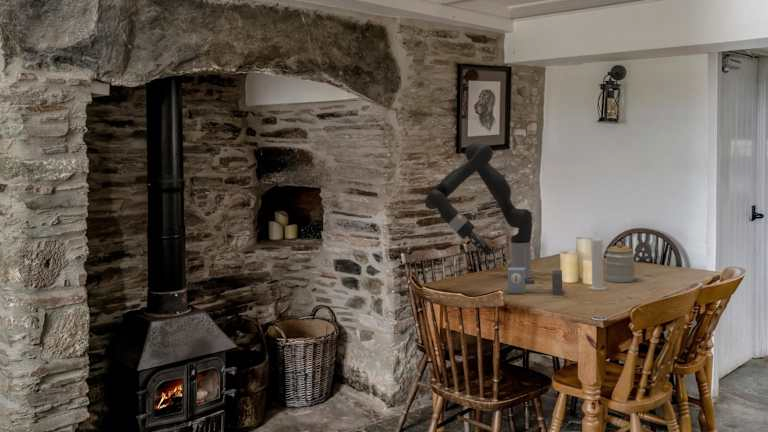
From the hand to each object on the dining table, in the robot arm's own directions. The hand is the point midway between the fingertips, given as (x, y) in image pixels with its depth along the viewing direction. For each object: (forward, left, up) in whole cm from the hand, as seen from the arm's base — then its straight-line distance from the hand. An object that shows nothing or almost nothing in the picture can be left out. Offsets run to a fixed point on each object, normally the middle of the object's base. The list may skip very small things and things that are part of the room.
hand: (489, 252), depth 312 cm
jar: (-33, +56, -18) cm, 68 cm away
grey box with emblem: (0, +13, -17) cm, 21 cm away
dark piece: (0, +17, -18) cm, 25 cm away
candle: (-13, +45, -18) cm, 50 cm away
